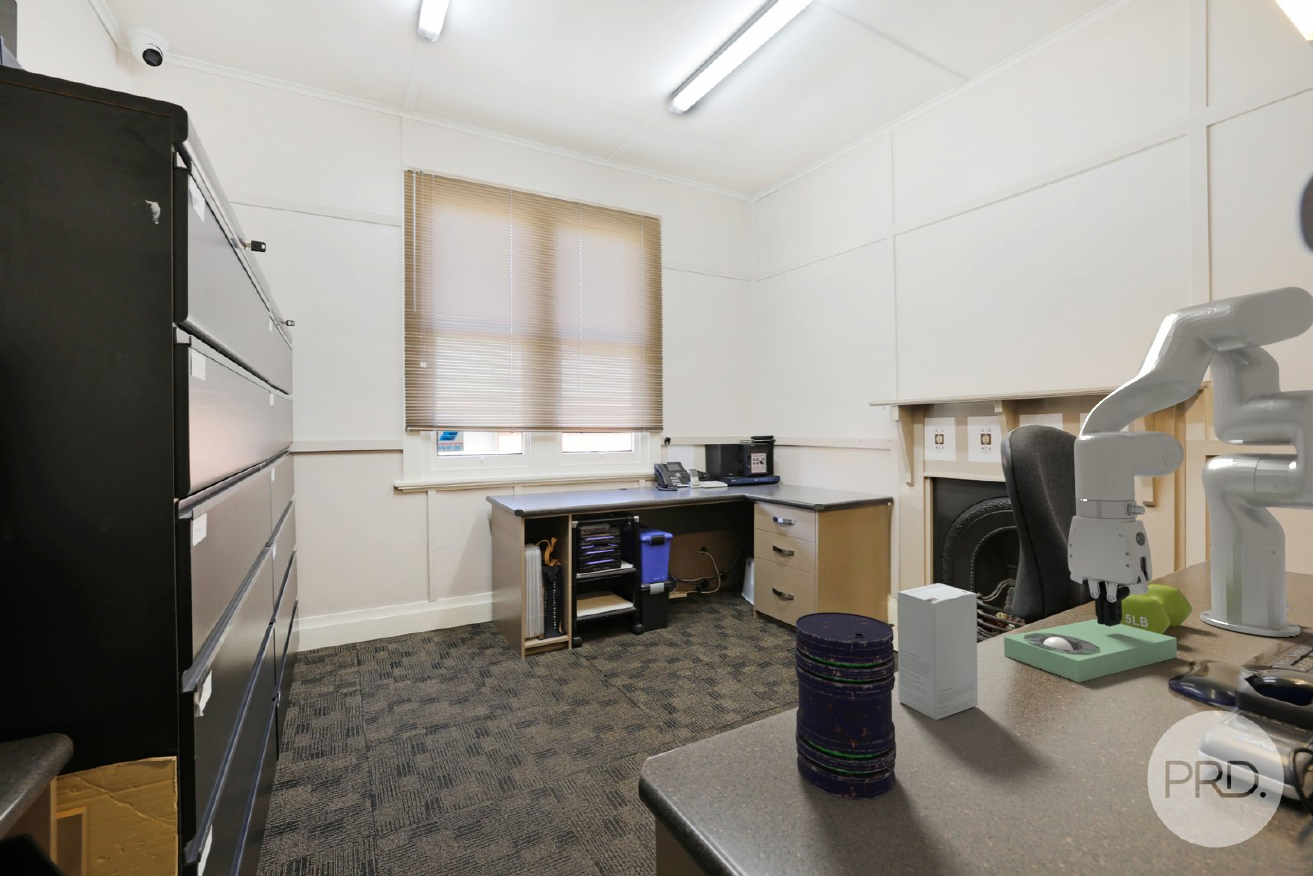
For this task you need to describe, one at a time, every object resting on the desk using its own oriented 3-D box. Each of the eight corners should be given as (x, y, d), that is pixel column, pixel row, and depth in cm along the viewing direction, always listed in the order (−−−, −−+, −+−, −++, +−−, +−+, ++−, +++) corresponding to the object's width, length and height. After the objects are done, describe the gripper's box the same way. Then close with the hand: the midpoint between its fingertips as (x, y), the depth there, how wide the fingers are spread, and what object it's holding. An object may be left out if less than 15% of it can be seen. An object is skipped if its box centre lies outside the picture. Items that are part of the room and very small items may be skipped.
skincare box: (939, 690, 77) (938, 581, 78) (981, 708, 72) (979, 591, 72) (895, 702, 74) (894, 588, 74) (936, 723, 68) (934, 599, 68)
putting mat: (1099, 635, 99) (1099, 618, 99) (1176, 657, 89) (1176, 638, 89) (1004, 655, 90) (1004, 636, 90) (1078, 682, 80) (1078, 661, 80)
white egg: (1046, 664, 88) (1056, 642, 89) (1073, 673, 85) (1083, 650, 86) (1032, 651, 87) (1042, 628, 88) (1059, 660, 83) (1069, 636, 84)
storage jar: (779, 751, 62) (778, 615, 62) (859, 740, 64) (858, 609, 65) (826, 808, 52) (825, 646, 53) (918, 792, 55) (916, 637, 55)
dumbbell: (1140, 617, 109) (1139, 580, 110) (1195, 628, 103) (1195, 588, 103) (1107, 633, 100) (1106, 592, 100) (1166, 646, 94) (1165, 603, 94)
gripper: (1175, 513, 86) (1179, 634, 86) (1071, 504, 99) (1074, 608, 99) (1145, 517, 83) (1150, 642, 83) (1042, 507, 97) (1046, 614, 97)
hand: (1109, 623), depth 91 cm, fingers closed
